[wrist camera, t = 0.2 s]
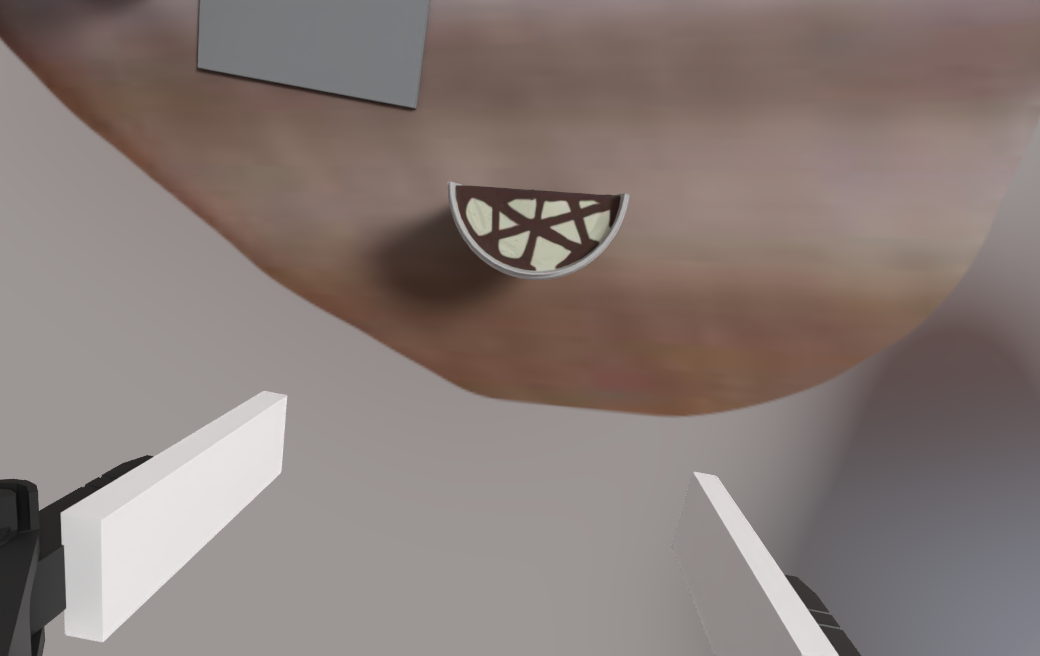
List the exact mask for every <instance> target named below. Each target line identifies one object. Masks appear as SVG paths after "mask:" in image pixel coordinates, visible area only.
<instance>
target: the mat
mask: <svg viewBox="0 0 1040 656" xmlns="http://www.w3.org/2000/svg"><path fill="white" fill-rule="evenodd" d="M429 5H430V0H200V13H199V43H198V68H200V69H204V70H210V71H215V72H221V73H226V74H231V75H237V76H242V77H247V78H253V79H258V80H263V81H269V82H274V83H280V84H285V85H290V86H296V87H301V88H306V89H312V90H317V91H322V92H328V93H333V94H339V95H344V96H349V97H355V98H360V99H365V100H371V101H376V102H381V103H387V104H392V105H398V106H403V107H408V108H414V109H416V108H417V100H418V92H419V84H420V77H421V69H422V61H423V53H424V45H425V37H426V29H427V21H428V13H429Z"/></svg>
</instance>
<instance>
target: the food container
mask: <svg viewBox="0 0 1040 656" xmlns="http://www.w3.org/2000/svg"><path fill="white" fill-rule="evenodd" d="M448 198H449V204H450V209H451V213H452V216H453V219H454V221H455V224H456V227H457V228H458V230H459V232H460V234H461V236H462V238H463V239H464V241H465V242H466V243H467V245H468V246H469V247H470V249H471V250H472V251H473V252H474V253H475V254H476V255H477V256H478V257H479V258H480V259H481V260H483V261H484V262H485V263H487V264H488V265H490V266H491V267H492V268H494V269H496V270H498V271H500V272H502V273H504V274H507V275H510V276H514V277H517V278H522V279H529V280H547V279H553V278H559V277H562V276H565V275H568V274H571V273H573V272H575V271H577V270H579V269H581V268H583V267H585V266H586V265H588V264H589V263H590V262H592V261H593V260H594V259H596V258H597V257H598V256H599V255H600V254H601V253H602V252H603V251H604V250H605V249H606V248H607V246H608V245H609V244H610V242H611V241H612V240H613V238H614V237H615V235H616V233H617V231H618V229H619V228H620V226H621V224H622V221H623V218H624V215H625V213H626V210H627V205H628V200H629V194H626V193H624V194H619V195H614V196H613V195H594V194H581V193H565V192H551V191H538V190H521V189H508V188H495V187H480V186H464V185H461V184H457V183H454V182H448Z"/></svg>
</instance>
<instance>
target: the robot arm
mask: <svg viewBox="0 0 1040 656" xmlns="http://www.w3.org/2000/svg"><path fill="white" fill-rule="evenodd" d="M286 403H287V395H283V394H278V393H272V392H267V391H263V392H261V393H259V394H258V395H256V396H254V397H253V398H251V399H249V400H248V401H246V402H244V403H243V404H241V405H239V406H238V407H236V408H234V409H233V410H231V411H229V412H228V413H226V414H225V415H223V416H221V417H219V418H218V419H216V420H214V421H213V422H211V423H209V424H208V425H206V426H204V427H203V428H201V429H199V430H198V431H196V432H194V433H193V434H191V435H189V436H188V437H186V438H184V439H183V440H181V441H179V442H178V443H176V444H174V445H173V446H171V447H169V448H168V449H166V450H165V451H163V452H161V453H159V454H158V455H156V456H148V455H147V456H144V457H140V458H137V459H134V460H131V461H128V462H125V463H122V464H121V465H119V466H117V467H115V468H113V469H112V470H110V471H108V472H106V473H105V474H103V475H102V477H101V478H99V477H98V478H96V479H94V480H92V481H91V482H89V483H87V484H86V485H85V487H80V488H78V489H77V490H75V491H73V492H72V493H70V494H68V495H66V496H65V497H63V498H61V499H59V500H57V501H56V502H54V503H52V504H51V505H49V506H47V507H45V508H44V509H42V510H40V511H39V505H38V490H37V486H36V485H35V484H33V483H31V482H29V481H27V480H18V479H4V480H0V656H42V654H43V648H44V642H45V632H44V626H45V625H46V624H47V623H49V622H50V621H51V620H52V619H54V618H55V617H56V616H57V615H59V614H60V613H61V612H62V611H63V610H64V615H65V616H64V618H65V635H68V636H73V637H78V638H83V639H88V640H94V641H99V642H104V641H105V640H106V639H107V638H108V637H109V636H110V635H111V634H112V633H113V632H114V631H115V630H116V629H117V628H118V627H119V626H121V624H123V623H124V622H125V621H126V620H127V619H128V618H129V617H130V616H131V615H132V614H133V613H134V612H135V611H136V610H137V609H138V608H139V607H140V606H141V605H143V604H144V603H145V602H146V601H147V600H148V599H149V598H150V597H151V596H152V595H153V594H154V593H155V592H156V591H157V590H158V589H159V588H160V587H161V586H163V584H165V583H166V582H167V581H168V580H169V579H170V578H171V577H172V576H173V575H174V574H175V573H176V572H177V571H178V570H179V569H180V568H181V567H183V566H184V565H185V564H186V562H188V561H189V560H190V559H191V558H192V557H193V556H194V555H195V554H196V553H197V552H198V551H199V550H200V549H201V548H202V547H204V545H206V544H207V543H208V542H209V541H210V540H211V539H212V538H213V537H214V536H215V535H216V534H217V533H218V532H219V531H220V530H221V529H222V528H223V527H225V525H227V524H228V523H229V522H230V521H231V520H232V519H233V518H234V517H235V516H236V515H237V514H238V513H239V512H240V511H241V510H242V509H243V508H244V507H246V506H247V505H248V504H249V503H250V502H251V501H252V500H253V499H254V498H255V497H256V496H257V495H258V494H259V493H260V492H261V491H262V490H263V489H264V488H265V487H266V486H268V485H269V484H270V483H271V482H272V481H273V480H274V479H275V478H276V477H277V476H278V475H279V474H280V473H281V469H282V456H283V444H284V430H285V417H286ZM672 549H673V551H674V554H675V557H676V559H677V561H678V564H679V567H680V569H681V572H682V574H683V577H684V579H685V582H686V584H687V587H688V589H689V592H690V595H691V597H692V600H693V602H694V605H695V607H696V610H697V612H698V615H699V618H700V620H701V623H702V625H703V628H704V630H705V633H706V635H707V638H708V640H709V643H710V646H711V648H712V651H713V653H714V656H861V655H860V653H859V652H858V651H857V649H856V648H855V646H854V645H853V644H852V642H851V641H850V640H849V639H848V637H847V636H846V634H845V633H844V631H843V630H840V626H839V625H838V623H837V622H836V621H835V619H834V618H833V616H832V615H829V611H828V610H827V608H826V607H825V606H824V604H823V603H822V601H821V600H820V599H819V597H818V596H817V595H816V593H814V592H813V591H812V590H811V589H810V588H809V587H808V586H806V585H805V584H804V583H803V582H802V581H801V580H799V579H798V578H797V577H794V576H788V575H784V574H783V573H782V571H781V570H780V568H779V567H778V565H777V564H776V562H775V561H774V559H773V558H772V557H771V555H770V554H769V552H768V551H767V549H766V548H765V546H764V545H763V543H762V542H761V540H760V539H759V537H758V536H757V534H756V533H755V532H754V530H753V529H752V527H751V526H750V524H749V523H748V522H747V520H746V518H745V517H744V515H743V514H742V512H741V511H740V509H739V508H738V507H737V505H736V504H735V503H734V501H733V499H732V498H731V496H730V495H729V493H728V492H727V490H726V489H725V487H724V486H723V484H722V483H721V482H720V480H719V479H718V477H717V476H714V475H708V474H703V473H698V472H693V473H692V476H691V480H690V483H689V487H688V490H687V494H686V497H685V501H684V504H683V508H682V511H681V515H680V518H679V522H678V525H677V529H676V533H675V536H674V540H673V543H672Z"/></svg>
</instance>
